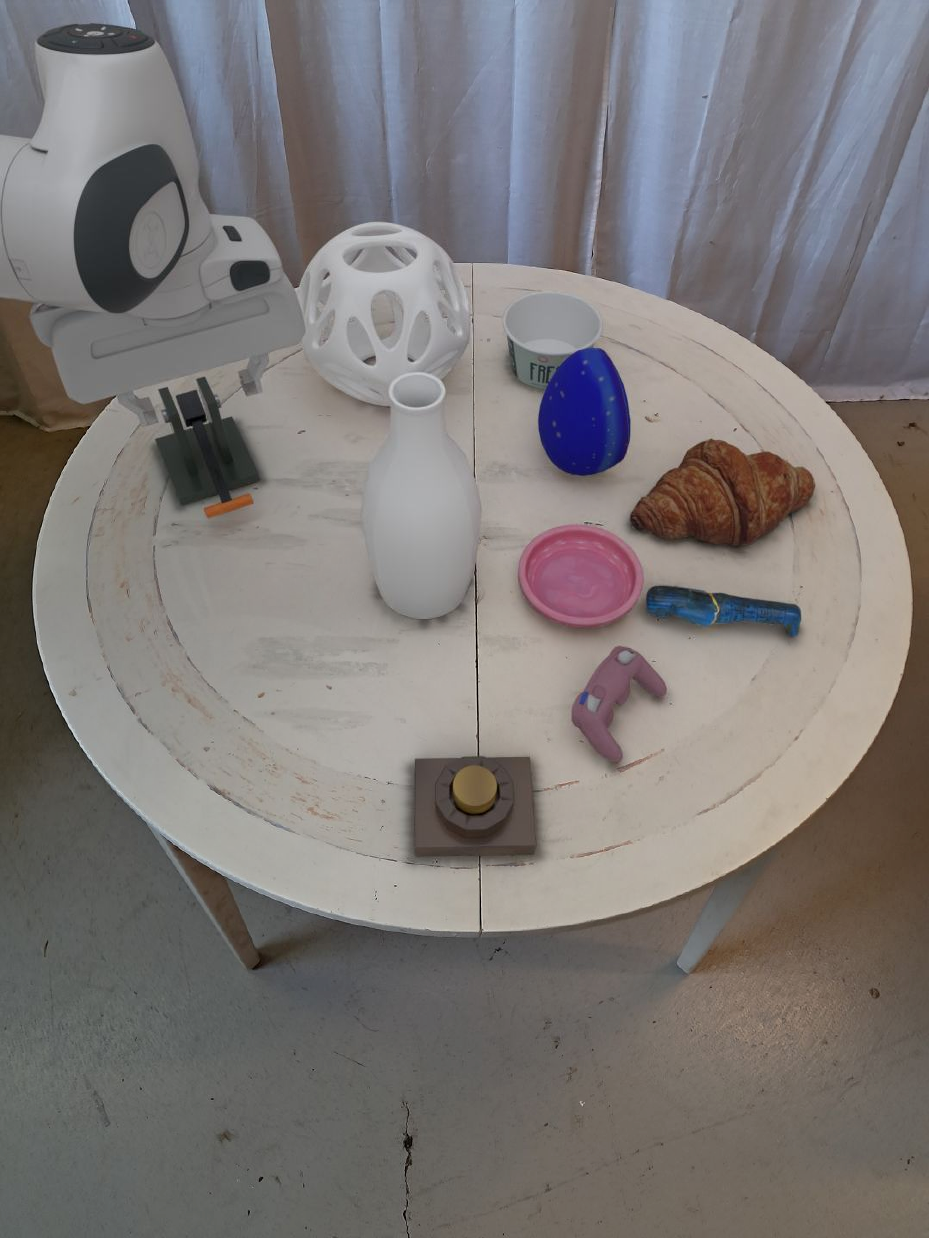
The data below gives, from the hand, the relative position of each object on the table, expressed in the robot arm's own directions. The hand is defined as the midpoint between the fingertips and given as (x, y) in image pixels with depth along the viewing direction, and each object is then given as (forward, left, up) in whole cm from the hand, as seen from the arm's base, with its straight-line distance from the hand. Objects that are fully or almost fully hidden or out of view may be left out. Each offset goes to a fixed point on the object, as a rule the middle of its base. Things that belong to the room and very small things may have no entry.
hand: (201, 405), depth 78 cm
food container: (+43, +11, -18) cm, 48 cm away
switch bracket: (0, +12, -18) cm, 22 cm away
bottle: (+15, -14, -18) cm, 27 cm away
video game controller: (+25, -35, -18) cm, 47 cm away
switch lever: (0, +8, -14) cm, 16 cm away
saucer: (+29, -21, -18) cm, 40 cm away
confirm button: (+9, -38, -14) cm, 42 cm away
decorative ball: (+24, +17, -18) cm, 34 cm away
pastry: (+49, -18, -18) cm, 55 cm away
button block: (+9, -38, -18) cm, 43 cm away
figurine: (+40, -30, -18) cm, 53 cm away
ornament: (+38, -5, -18) cm, 42 cm away
